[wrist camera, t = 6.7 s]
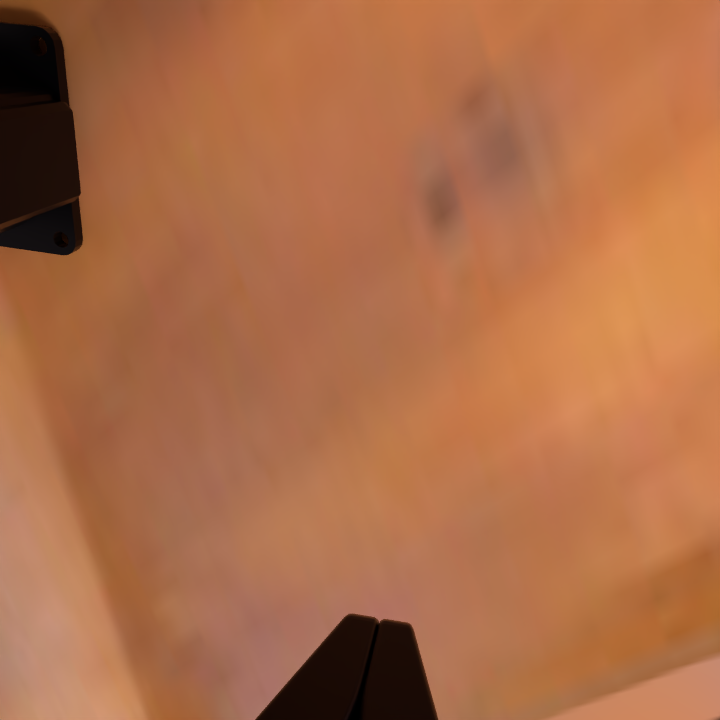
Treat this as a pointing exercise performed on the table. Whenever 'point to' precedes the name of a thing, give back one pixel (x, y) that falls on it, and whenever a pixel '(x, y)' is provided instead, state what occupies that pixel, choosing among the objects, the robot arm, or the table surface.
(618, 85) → the table surface
